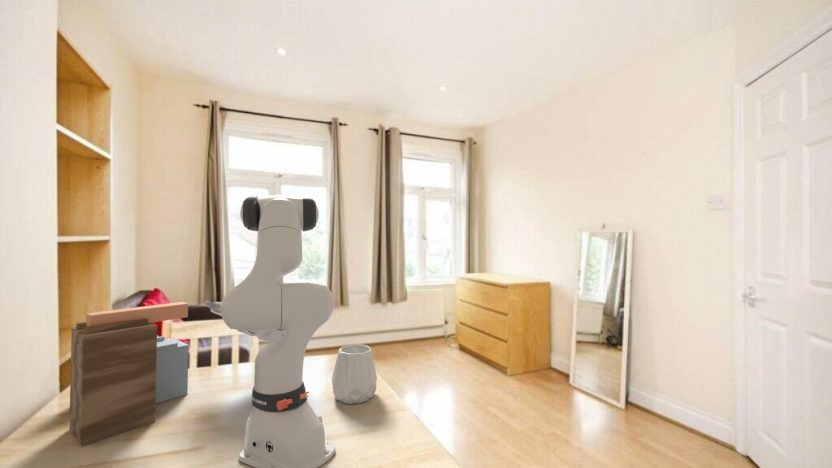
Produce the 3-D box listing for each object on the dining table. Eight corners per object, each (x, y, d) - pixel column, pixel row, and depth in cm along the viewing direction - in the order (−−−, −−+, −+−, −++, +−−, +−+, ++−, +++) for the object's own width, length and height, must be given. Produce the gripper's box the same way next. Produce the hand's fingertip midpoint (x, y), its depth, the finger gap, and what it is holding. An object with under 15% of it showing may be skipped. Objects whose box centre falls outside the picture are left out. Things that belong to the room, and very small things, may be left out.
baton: (187, 317, 109) (188, 303, 109) (90, 331, 91) (90, 315, 91) (182, 315, 111) (182, 301, 111) (85, 329, 94) (86, 313, 94)
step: (187, 394, 117) (188, 341, 117) (145, 406, 108) (147, 349, 108) (172, 384, 124) (173, 334, 124) (132, 395, 115) (133, 341, 115)
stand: (155, 421, 99) (157, 319, 99) (80, 446, 87) (83, 330, 87) (139, 408, 107) (141, 312, 107) (69, 429, 95) (71, 321, 95)
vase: (331, 408, 109) (332, 357, 109) (331, 389, 123) (332, 343, 123) (379, 404, 112) (380, 354, 112) (373, 386, 126) (374, 341, 126)
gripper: (238, 306, 134) (203, 291, 124) (269, 316, 121) (233, 300, 112) (229, 323, 131) (192, 309, 122) (260, 335, 119) (222, 320, 109)
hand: (212, 305), depth 116 cm, fingers open, 8 cm apart
